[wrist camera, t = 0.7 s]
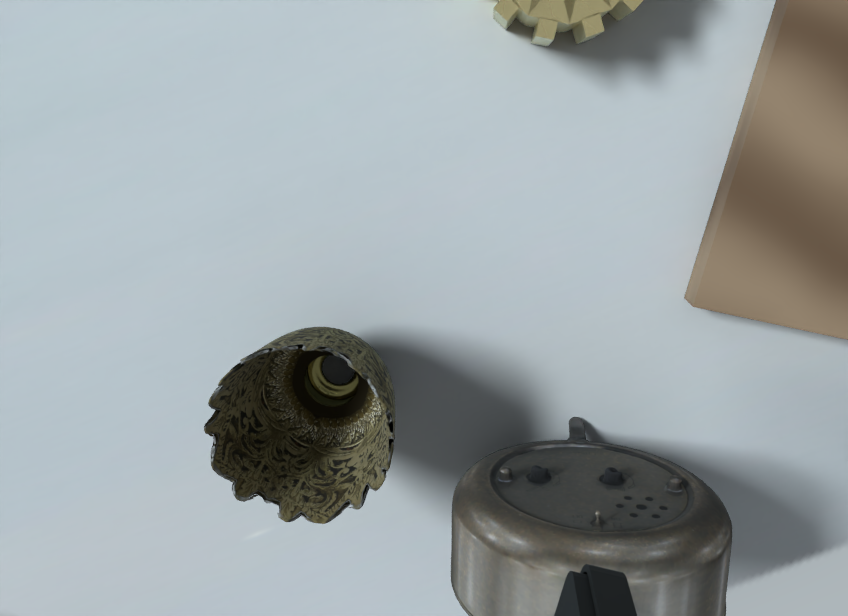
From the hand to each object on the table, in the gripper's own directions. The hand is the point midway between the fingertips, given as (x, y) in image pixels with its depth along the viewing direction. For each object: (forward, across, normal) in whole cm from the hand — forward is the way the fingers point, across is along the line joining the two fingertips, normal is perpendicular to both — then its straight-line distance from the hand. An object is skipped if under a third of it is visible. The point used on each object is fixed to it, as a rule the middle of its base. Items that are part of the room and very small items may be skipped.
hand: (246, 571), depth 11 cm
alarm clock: (+24, -10, +8) cm, 28 cm away
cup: (+24, +2, +7) cm, 26 cm away
